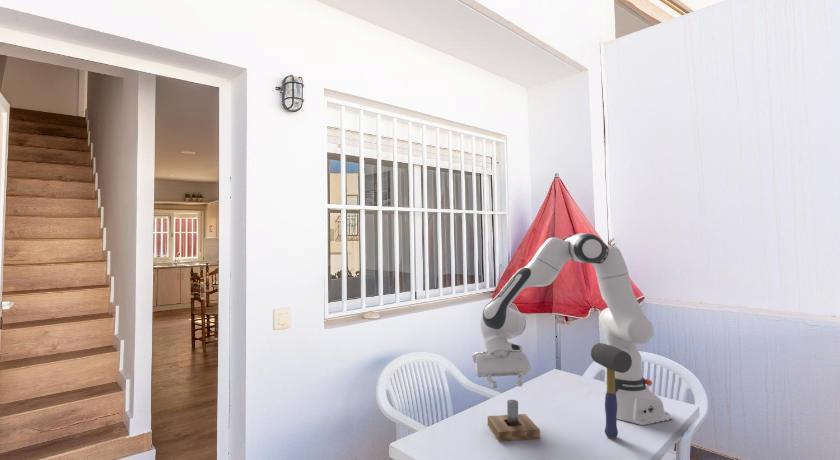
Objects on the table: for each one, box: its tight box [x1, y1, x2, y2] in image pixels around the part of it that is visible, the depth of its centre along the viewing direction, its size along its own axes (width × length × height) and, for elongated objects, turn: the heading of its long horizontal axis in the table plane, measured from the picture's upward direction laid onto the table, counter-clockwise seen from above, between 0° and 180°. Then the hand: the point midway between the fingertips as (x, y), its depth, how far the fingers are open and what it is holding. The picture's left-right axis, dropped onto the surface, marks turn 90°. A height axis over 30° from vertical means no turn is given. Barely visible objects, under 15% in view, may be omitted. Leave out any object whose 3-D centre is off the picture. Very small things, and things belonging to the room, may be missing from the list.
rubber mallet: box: [590, 342, 632, 439], centre depth 135 cm, size 12×8×30 cm, turn 14°
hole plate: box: [487, 413, 541, 442], centre depth 139 cm, size 14×12×3 cm
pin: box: [506, 399, 519, 426], centre depth 139 cm, size 4×4×10 cm
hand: (507, 386), depth 144 cm, fingers open, 8 cm apart
